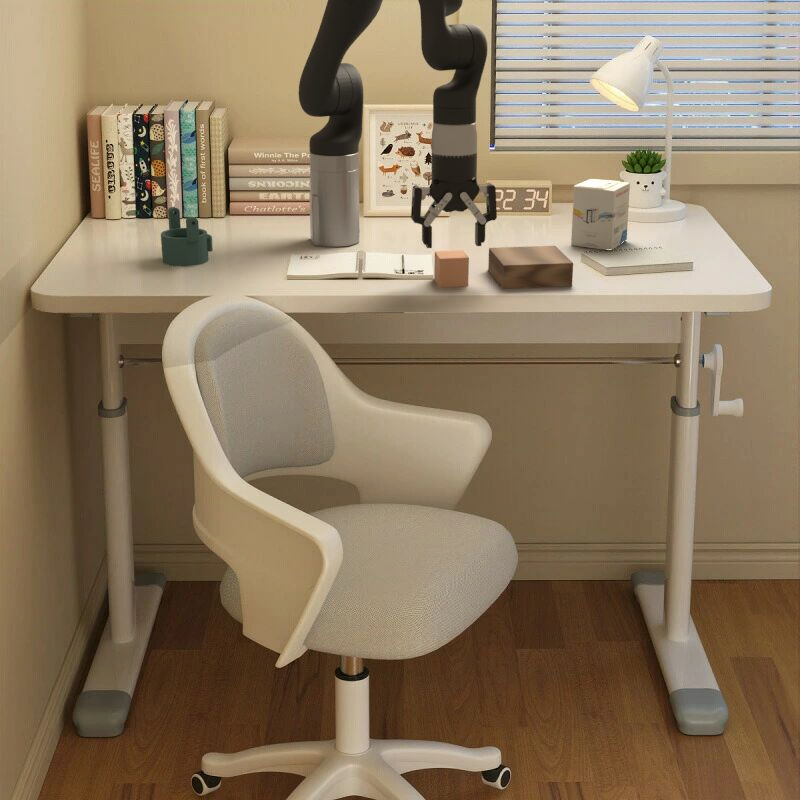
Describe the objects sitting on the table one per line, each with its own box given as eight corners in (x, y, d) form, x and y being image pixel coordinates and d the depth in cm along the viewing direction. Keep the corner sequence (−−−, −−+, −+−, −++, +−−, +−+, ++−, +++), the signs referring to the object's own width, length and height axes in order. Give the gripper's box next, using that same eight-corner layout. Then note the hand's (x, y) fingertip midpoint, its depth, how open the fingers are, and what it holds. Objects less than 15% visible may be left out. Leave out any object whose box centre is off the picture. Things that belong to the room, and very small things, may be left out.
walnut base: (503, 288, 211) (503, 265, 210) (488, 269, 222) (489, 247, 221) (572, 285, 213) (573, 263, 212) (554, 267, 224) (555, 245, 223)
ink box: (586, 236, 246) (590, 177, 242) (627, 241, 242) (631, 181, 238) (569, 245, 239) (572, 184, 235) (611, 251, 235) (615, 189, 231)
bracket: (196, 268, 223) (194, 219, 220) (151, 263, 226) (148, 214, 223) (220, 257, 231) (218, 209, 228) (176, 252, 234) (174, 204, 231)
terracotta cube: (439, 287, 212) (439, 258, 211) (434, 279, 217) (434, 251, 215) (468, 286, 213) (468, 257, 211) (462, 278, 218) (463, 250, 216)
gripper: (415, 155, 202) (415, 253, 208) (501, 152, 204) (499, 249, 210) (408, 148, 209) (408, 243, 215) (491, 145, 211) (490, 239, 217)
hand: (453, 246), depth 212 cm, fingers open, 8 cm apart
